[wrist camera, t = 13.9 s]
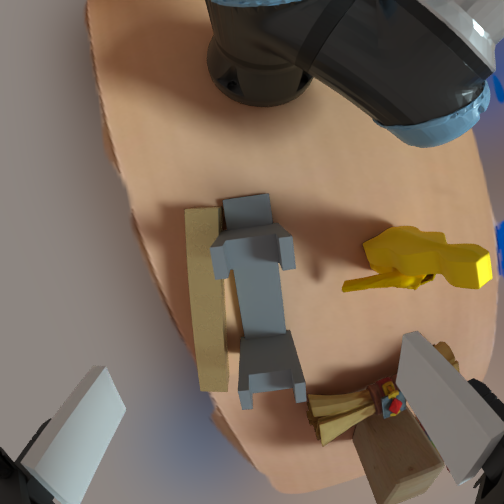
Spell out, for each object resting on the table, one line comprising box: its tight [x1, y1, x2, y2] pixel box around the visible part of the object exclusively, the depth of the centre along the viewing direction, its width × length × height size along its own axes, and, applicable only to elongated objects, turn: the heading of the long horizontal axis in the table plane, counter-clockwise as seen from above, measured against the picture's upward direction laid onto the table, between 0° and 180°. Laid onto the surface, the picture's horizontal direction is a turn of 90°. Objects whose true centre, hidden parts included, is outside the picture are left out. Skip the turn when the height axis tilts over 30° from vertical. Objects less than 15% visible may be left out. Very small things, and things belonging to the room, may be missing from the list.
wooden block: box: [353, 406, 444, 504], centre depth 36 cm, size 10×10×20 cm
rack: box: [210, 194, 306, 410], centre depth 33 cm, size 27×7×13 cm, turn 8°
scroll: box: [306, 342, 459, 446], centre depth 39 cm, size 27×10×10 cm, turn 108°
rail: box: [184, 207, 229, 392], centre depth 38 cm, size 26×4×5 cm, turn 1°
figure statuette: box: [342, 226, 492, 292], centre depth 28 cm, size 18×8×22 cm, turn 114°
